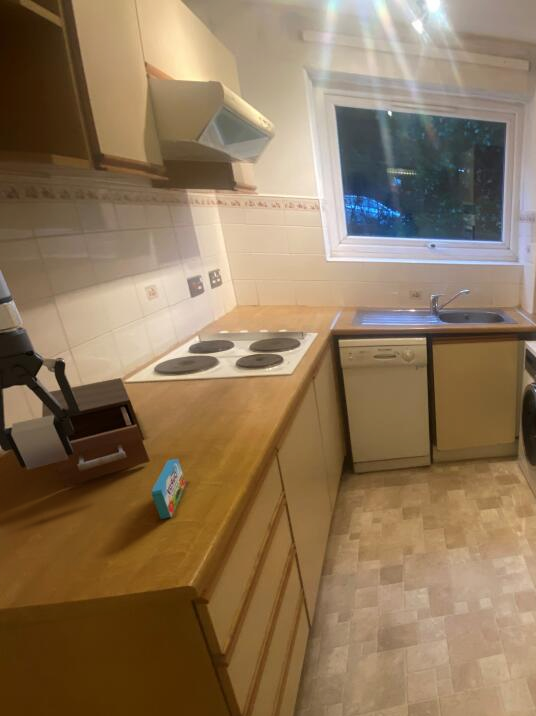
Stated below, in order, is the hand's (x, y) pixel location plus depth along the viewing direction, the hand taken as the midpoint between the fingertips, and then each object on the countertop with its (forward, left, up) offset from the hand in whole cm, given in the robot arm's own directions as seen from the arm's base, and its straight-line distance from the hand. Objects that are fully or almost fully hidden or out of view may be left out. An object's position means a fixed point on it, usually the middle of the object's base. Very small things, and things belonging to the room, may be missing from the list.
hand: (48, 457), depth 77 cm
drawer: (+6, +16, -11) cm, 20 cm away
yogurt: (+14, -9, -12) cm, 21 cm away
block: (0, 0, 0) cm, 0 cm away
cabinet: (+6, +35, -12) cm, 37 cm away
